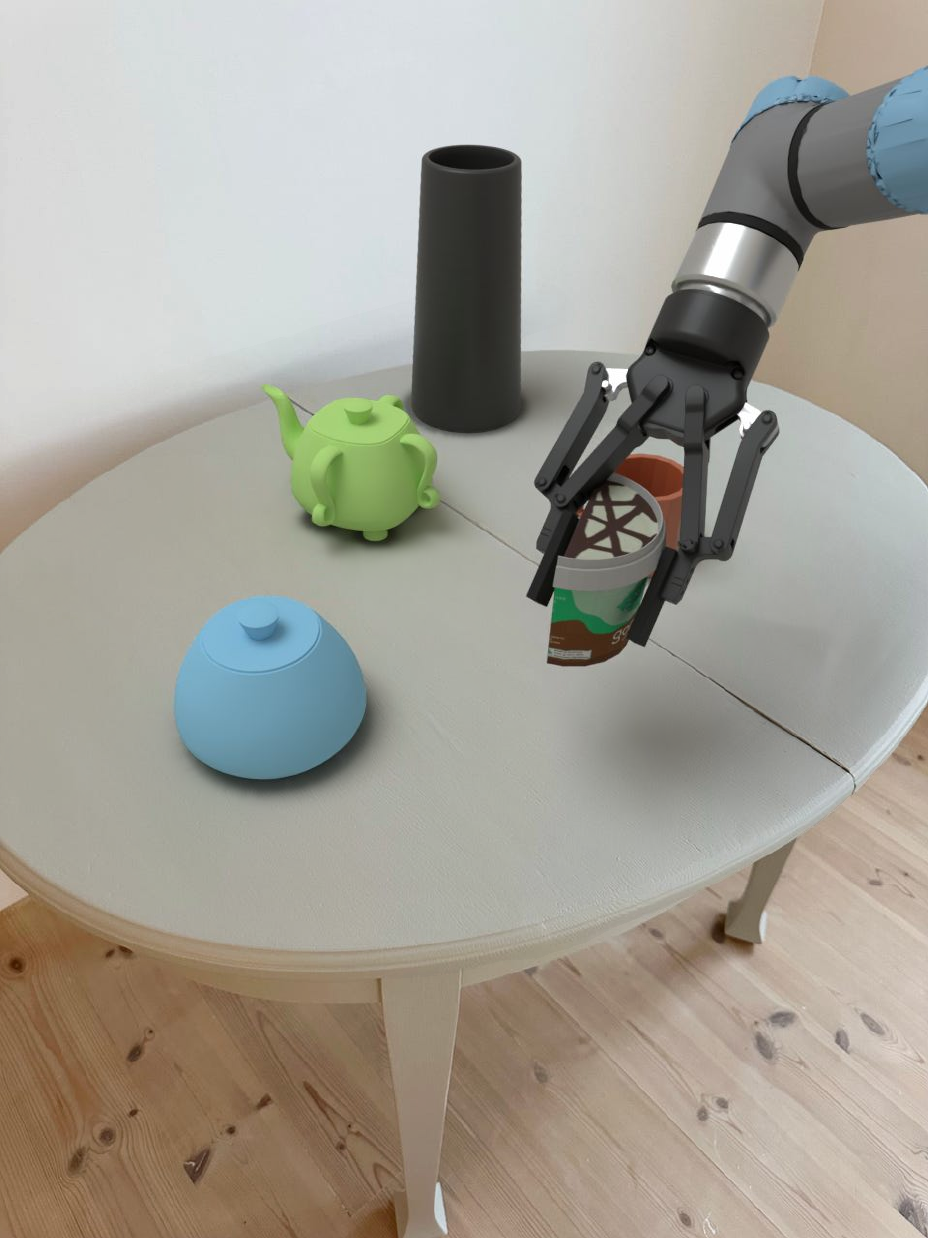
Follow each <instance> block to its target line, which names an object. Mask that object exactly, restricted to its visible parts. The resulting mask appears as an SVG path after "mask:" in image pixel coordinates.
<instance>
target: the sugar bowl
mask: <svg viewBox="0 0 928 1238" xmlns="http://www.w3.org/2000/svg"><path fill="white" fill-rule="evenodd" d="M366 708H367V687H366V683H365V677H364V674H363V671H362V669H361V666H360V664H359V661H358V659H357V656H356V654H355V653H354V651H353V649H352V648H351V646H350V645H349V644H348V642H347V640H346V639H345V638H344V637H343V636H342V634H341V633H340V632H339V631H338V630H337V629H336V628H335V627H334V626H333V624H331V623H330V622H328V620H326V619H325V617H323V616H322V615H321V614H320V613H318V612H317V611H316V610H315V609H313V608H312V607H310V606H308V605H307V604H306V603H303V602H301V601H299V600H296V599H293V598H290V597H287V596H286V597H285V596H279V595H257V596H250V597H245V598H243V599H239V600H237V601H234V602H232V603H230V604H228V605H226V606H223V607H222V608H221V609H219V610H218V611H216V612H215V613H214V614H213V615H212V616H211V617H209V619H208V620H207V621H206V622H205V624H204V625H203V626H202V627H201V629H200V630H199V632H198V633H197V635H196V637H195V638H194V639H193V641H192V643H191V645H190V646H189V648H188V650H187V651H186V653H185V655H184V657H183V659H182V662H181V664H180V667H179V670H178V674H177V677H176V682H175V686H174V694H173V715H174V721H175V726H176V730H177V733H178V735H179V738H180V739H181V741H182V743H183V745H184V746H185V747H186V748H187V749H188V751H190V753H191V754H192V755H193V756H194V757H195V758H197V759H198V760H199V761H200V762H201V763H203V764H205V765H207V766H209V767H210V768H212V769H214V770H217V771H219V772H222V773H224V774H227V775H231V776H233V777H239V778H245V779H251V780H276V779H282V778H287V777H291V776H292V777H293V776H296V775H299V774H302V773H305V772H307V771H309V770H312V769H313V768H315V767H318V766H319V765H321V764H323V763H324V762H326V761H328V760H330V759H331V758H332V757H333V756H334V755H336V754H337V753H338V752H340V751H341V750H342V749H343V748H344V747H345V746H346V745H347V744H348V743H349V742H350V740H351V739H352V738H353V737H354V736H355V734H356V733H357V730H358V729H359V727H360V725H361V723H362V721H363V718H364V717H365V716H364V715H365V712H366Z"/></svg>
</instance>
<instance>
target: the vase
mask: <svg viewBox="0 0 928 1238" xmlns="http://www.w3.org/2000/svg"><path fill="white" fill-rule="evenodd" d="M522 164H523V163H522V159H521V157H520V155H518V154H517V153H515V152H513V151H511V150H509V149H505V148H502V147H497V146H493V145H492V146H491V145H483V144H454V145H452V144H451V145H446V146H440V147H436V148H433V149H431V150H429V151H427V152H425V153H424V154H423V156H422V157H421V166H420V167H421V168H420V185H419V207H418V231H417V251H416V252H417V253H416V258H417V259H416V276H415V278H416V279H415V295H414V297H415V299H414V300H415V301H414V302H415V303H414V304H415V305H414V318H413V319H414V325H413V346H412V364H411V365H412V366H411V367H412V369H411V371H412V372H411V373H412V374H411V395H410V405H411V410H412V413H413V415H414V416H415V417H416V418H417V419H418V420H420V421H421V422H423V423H424V424H426V425H428V426H431V427H433V428H436V429H439V430H443V431H448V432H454V433H455V432H456V433H481V432H488V431H492V430H497V429H499V428H502V427H504V426H507V425H508V424H510V423H512V422H513V421H514V420H515V419H516V418H517V417H518V416H519V414H520V412H521V401H522V399H521V398H522V397H521V394H522V393H521V392H522V388H521V387H522V382H521V381H522V226H523V224H522V222H523V221H522V213H523V211H522V210H523V209H522V202H523V201H522V200H523V198H522V194H523V193H522V192H523V187H522V183H523V182H522V181H523V180H522V179H523V175H522V173H523V172H522V171H523V170H522V167H523V166H522Z"/></svg>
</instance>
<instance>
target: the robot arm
mask: <svg viewBox="0 0 928 1238" xmlns="http://www.w3.org/2000/svg"><path fill="white" fill-rule="evenodd" d="M730 141H731V142H730V145H729V150H728V152H727V154H726V157H725V159H724V162H723V164H722V166H721V169H720V171H719V173H718V176H717V178H716V180H715V183H714V186H713V187H712V190H711V192H710V195H709V197H708V199H707V202H706V204H705V207H704V209H703V212H702V214H701V216H700V218H699V221H698V224H697V227H696V229H695V232H694V234H693V235H692V237H691V240H690V241H689V244H688V246H687V249H686V251H685V253H684V256H682V257H683V258H682V260H681V262H680V264H679V266H678V269H677V271H676V273H675V276H674V277H673V280H672V282H671V285H670V288H671V292H672V293H670V294H669V295H667V296H666V297H665V299H664V301H663V303H662V306H661V308H660V310H659V312H658V314H657V316H656V320H655V321H654V324H653V325H652V328H651V331H650V333H649V335H648V338H647V340H646V343H645V345H644V346H645V347H643V348H644V349H643V351H642V353H641V354H640V356H639V357H637V359H636V360H635V361H634V362H633V363H632V364H631V365H629V367H628V368H612V367H606V366H605V365H604V363H602V362H601V361H594V362H592V363H591V364H590V365H589V366H588V368H587V374H586V379H585V384H584V390H583V392H582V394H581V396H580V398H579V399H578V402H577V404H576V405H575V407H574V409H573V411H572V412H571V414H570V416H569V417H568V419H567V421H566V422H565V424H564V426H563V428H562V430H561V431H560V434H559V435H558V437H557V438H556V441H555V442H554V444H553V446H552V447H551V449H550V451H549V453H548V455H547V456H546V459H545V460H544V462H543V463H542V466H541V467H540V469H539V471H538V473H537V474H536V476H535V478H534V481H533V485H534V487H535V489H536V490H537V491H539V493H540V494H542V496H544V497H545V498H546V499H547V500H548V501H549V505H550V509H549V512H548V513H547V516H546V519H545V521H544V523H543V526H542V527H541V529H540V533H539V534H538V537H537V539H536V544H535V545H536V546H535V550H538V551H539V552H540V553H541V554H543V556H542V557H541V560H540V562H539V564H538V567H537V569H536V572H535V574H534V576H533V579H532V580H531V583H530V585H529V588H528V590H527V592H526V595H525V597H526V598H528V599H530V600H531V601H533V602H534V603H537V604H538V605H541V606H542V607H545V608H548V606H549V604H550V602H551V599H552V597H553V596H554V588H555V587H553V582H554V576H555V570H556V566H557V561H558V556H562V557H564V555H565V553H566V550H567V548H568V546H569V543H570V541H571V539H572V536H573V534H574V532H575V529H576V527H577V524H578V521H579V519H580V518H578V517H579V515H578V514H577V512H578V511H579V510H580V509H581V508H582V507H583V505H584V506H585V504H587V503H588V500H589V498H590V496H591V494H592V492H593V491H594V490H595V489H597V488H598V487H600V486H602V484H603V483H604V482H605V481H606V480H607V479H608V478H609V477H610V476H611V475H612V473H613V472H614V471H615V470H616V469H617V468H618V467H619V466H620V465H621V464H622V462H623V461H624V460H625V459H626V458H627V457H628V456H629V455H630V454H632V452H634V450H635V449H636V448H640V447H642V445H644V444H645V442H646V441H647V440H648V439H649V438H653V439H656V440H668V441H671V442H672V443H674V444H675V445H677V446H679V447H681V448H683V467H684V470H683V488H682V506H681V524H680V542H679V541H677V542H678V546H679V550H678V552H677V550H675V549H672V548H669V547H666V546H665V549H664V551H663V553H662V556H661V558H660V560H659V562H658V565H657V568H656V570H655V572H654V574H653V576H652V577H651V579H650V581H649V584H648V585H647V587H646V589H645V591H644V594H643V596H642V599H641V603H640V606H639V608H638V611H637V613H636V615H635V618H634V620H633V622H632V625H631V627H630V629H629V631H628V634H627V636H626V638H627V639H629V641H631V642H632V643H634V644H636V645H638V646H641V647H643V648H646V646H647V643H648V642H649V639H650V637H651V634H652V632H653V630H654V627H655V625H656V623H657V620H658V618H659V616H660V613H661V611H662V609H663V607H664V605H665V603H666V602H667V603H670V604H673V605H675V606H677V605H678V604H679V603H680V602H681V601H682V600H683V598H684V597H685V594H686V591H687V589H688V586H689V585H690V582H691V579H692V577H693V575H694V573H695V571H696V568H697V566H698V565H699V564H700V563H701V562H703V561H707V560H708V561H710V560H715V561H719V562H727V561H729V560H731V558H732V557H733V555H734V551H735V549H736V545H737V541H738V538H739V536H740V532H741V529H742V526H743V522H744V518H745V515H746V512H747V509H748V506H749V502H750V499H751V495H752V492H753V489H754V486H755V484H756V483H755V482H756V479H757V476H758V472H759V469H760V466H761V462H762V460H763V457H764V456H765V455H766V453H767V452H768V450H769V449H770V447H771V446H772V445H773V444H774V442H775V441H776V439H777V438H778V437H779V434H780V426H779V421H778V417H777V414H776V413H775V412H774V411H773V410H770V409H766V410H763V411H762V410H760V409H759V408H757V407H755V406H753V405H751V404H750V403H748V395H747V393H748V388H749V385H750V384H751V381H752V378H753V377H754V375H755V372H756V370H757V367H758V365H759V363H760V361H761V358H762V356H763V353H764V351H765V350H766V347H767V344H768V343H769V340H770V331H769V329H771V328H773V327H774V326H775V324H776V323H777V321H778V320H779V319H778V318H779V317H780V315H781V312H782V310H783V307H784V305H785V303H786V300H787V298H788V296H789V293H790V292H791V289H792V287H793V285H794V282H795V280H796V278H797V276H798V274H799V271H800V269H801V267H802V265H803V263H804V260H805V255H806V253H807V252H808V249H809V247H810V245H811V244H812V242H813V239H814V238H815V236H816V235H817V234H818V233H821V232H827V231H834V230H835V231H836V230H840V229H844V228H845V229H846V228H848V227H851V226H858V225H863V224H870V223H876V222H883V221H889V220H894V219H899V218H906V217H910V216H914V215H915V216H916V215H922V216H923V215H928V65H926V66H922V67H920V68H917V69H915V70H914V71H913V72H912V73H911V74H907V75H905V76H902V77H899V78H896V79H894V80H891V81H888V82H886V83H883V84H880V85H877V86H874V87H872V88H869V89H865V90H863V91H860V92H857V93H855V94H852V95H851V94H850V93H849V92H847V90H845V89H844V88H843V87H842V86H839V85H838V84H836V83H835V82H833V81H830V80H828V79H826V78H823V77H820V76H815V75H808V76H807V77H806V78H803V79H802V78H799V77H797V76H796V75H786V76H782V77H780V78H776V79H774V80H773V81H770V82H769V83H768V84H767V85H765V86H764V87H763V88H761V90H760V91H759V92H758V93H757V94H756V96H755V98H754V99H753V101H752V104H751V106H750V107H749V110H748V112H747V113H746V116H745V118H744V120H743V121H742V122H741V124H740V127H739V128H738V129H736V131H735V133H734V136H733V137H732V139H731V140H730ZM623 389H627V390H628V394H629V399H630V402H631V403H630V405H629V406H627V408H626V409H625V411H623V412H622V413H621V415H620V416H619V418H618V419H617V421H616V423H615V426H614V427H613V428H612V429H611V431H609V433H608V434H607V435H606V436H605V437H604V438H603V439H602V441H600V443H599V444H598V445H597V446H596V447H595V448H594V450H592V452H591V453H590V454H589V455H588V456H587V457H586V458H585V459H584V461H582V462H581V464H580V465H579V466H578V467H577V465H578V463H579V461H580V460H581V458H582V455H583V454H584V452H585V451H586V449H587V447H588V445H589V444H590V442H591V440H592V439H593V436H594V435H595V433H596V431H597V430H598V427H599V426H600V424H601V422H602V420H603V419H604V417H605V414H606V413H607V411H608V408H609V404H610V402H613V401H616V400H617V398H618V397H619V394H620V393H621V391H622V390H623ZM737 421H739V422H740V425H739V428H738V433H739V436H740V440H741V441H740V442H739V446H738V447H737V450H736V451H737V452H736V454H735V458H734V460H733V465H732V468H731V471H730V475H729V478H728V481H727V484H726V486H725V491H724V494H723V497H722V500H721V503H720V507H719V509H718V514H717V517H716V520H715V523H714V526H713V530H712V532H711V536H705V535H706V534H705V532H706V516H707V514H706V512H707V495H708V494H707V493H708V475H709V463H710V459H711V443H712V442H711V440H712V438H713V437H714V436H715V435H717V434H718V433H720V432H722V431H723V430H725V429H726V428H728V427H729V426H731V425H732V424H734V423H735V422H737ZM576 467H577V468H576Z"/></svg>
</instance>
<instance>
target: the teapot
mask: <svg viewBox="0 0 928 1238" xmlns="http://www.w3.org/2000/svg"><path fill="white" fill-rule="evenodd" d="M260 389H261V390H262V391H263V392H264V393H265V394H266V395H267V396H268V397H269V398H270V400H271V401H272V403H273V404H274V406H275V408H276V411H277V415H278V420H279V430H280V437H281V442H282V447H283V448H284V451H285V453H286V455H287V456H288V458H289V459H290V460H291V461H292V462H291V467H290V489H291V493H292V495H293V498H294V499H295V501H297V503H298V504H299V505H300V507H302V508H303V510H305V511H306V512H307V513H308V514H310V515H311V522H312V523H313V524H314V525H316V526H319V527H328V526H330V525H331V526H334V527H337V528H341V529H346V530H352V531H359V532H362V536H363V537H364V539H366V540H367V541H371V542H380V541H383V540H384V539H386V538H387V537H388V535H389V533H388V530H391V529H394V528H395V527H397V526H399V525H401V524H402V523H403V522H405V521H406V520H407V519H408V518H409V517H410V516H411V515H412V514H413V513H414V512H415V511H416V510H417V509H418V508H419V507H421V508H423V509H433V508H435V507H437V506H438V505H439V502H440V500H441V494H440V491H438V489H437V488H435V487H433V486H432V484H433V476H434V474H435V471H436V468H437V464H438V453H437V450H436V447H435V446H434V445H433V443H432V442H431V441H430V440H429V439H427V438H426V437H424V436H423V435H421V433H420V431H419V430H418V428H417V426H416V424H415V422H414V421H413V420H412V417H410V415H409V414H408V413H407V412H406V411H405V408H404V407H405V406H404V402H403V400H402V399H401V397H399V396H397V395H393V394H384V395H383V396H381V397H380V398H379V399H378V400H374V399H367V398H365V397H363V398H362V397H345V398H344V397H343V398H339V399H335V400H333V401H331V402H329V403H328V404H326V405H324V406H323V407H322V408H320V409H319V410H318V411H317V412H316V413H315V414H314V415H313V416H311V418H310V419H309V420H308V421H307V423H306V425H305V427H303V425H302V424H301V421H300V420H299V418H298V415H297V413H296V410H295V407H294V404H293V403H292V401H291V399H290V398H289V396H288V395H287V394H286V393H285V392H284V391H283V390H281V389H279V388H277V387H275V386H273V385H270V384H261V385H260Z"/></svg>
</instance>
